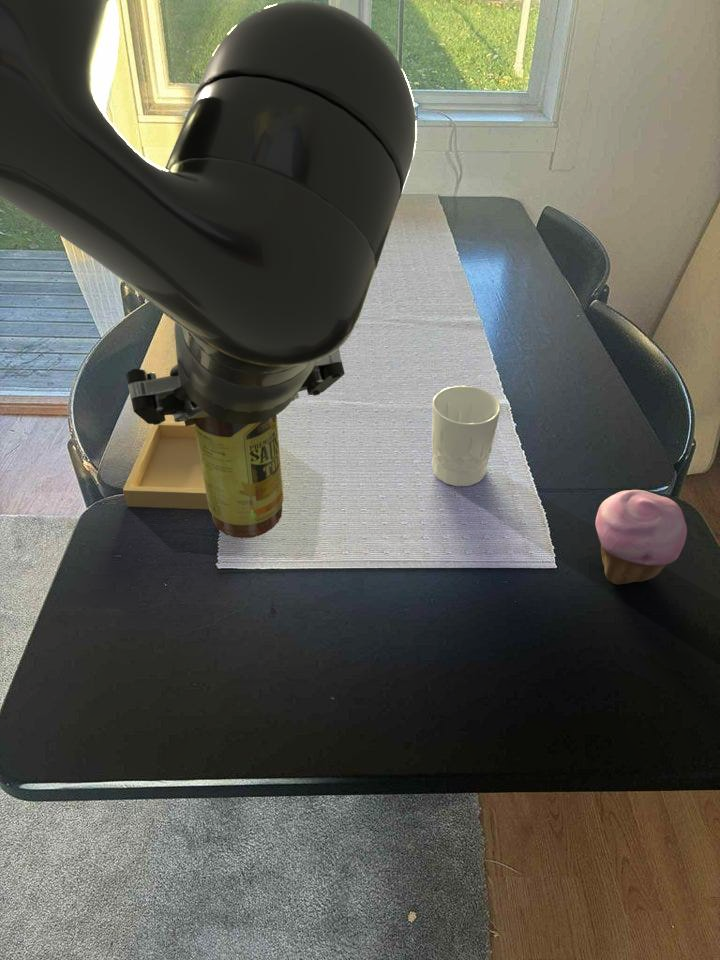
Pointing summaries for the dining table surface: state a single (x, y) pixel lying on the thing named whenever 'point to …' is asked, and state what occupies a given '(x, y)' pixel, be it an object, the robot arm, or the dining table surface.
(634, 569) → the cupcake
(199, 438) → the sauce bottle
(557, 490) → the dining table surface
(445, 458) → the white cup
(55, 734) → the dining table surface
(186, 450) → the serving tray
